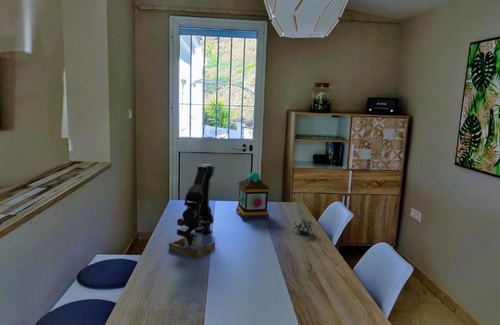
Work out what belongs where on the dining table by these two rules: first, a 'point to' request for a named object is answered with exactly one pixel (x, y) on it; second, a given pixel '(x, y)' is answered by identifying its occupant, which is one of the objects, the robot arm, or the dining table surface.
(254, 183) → the decorative lantern
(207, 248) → the frame
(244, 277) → the dining table surface
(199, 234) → the medicine box
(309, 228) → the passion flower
